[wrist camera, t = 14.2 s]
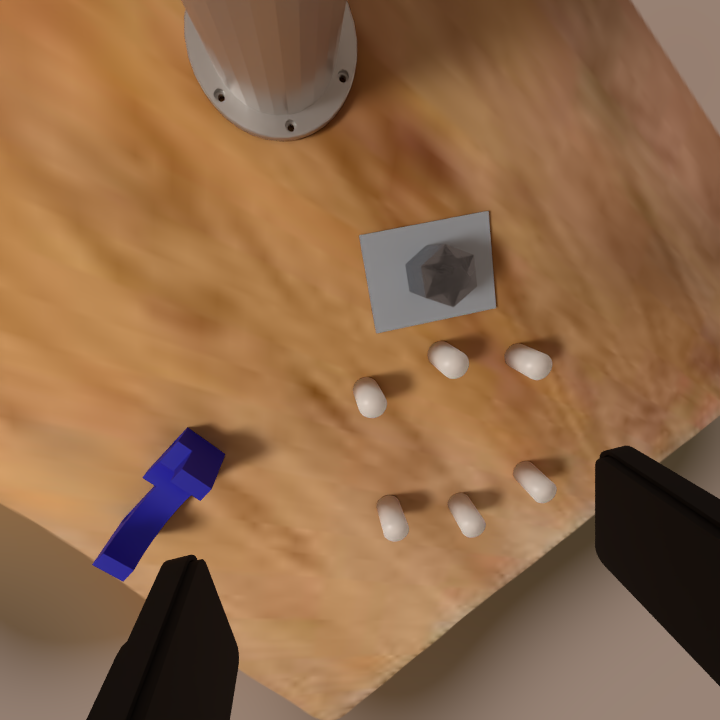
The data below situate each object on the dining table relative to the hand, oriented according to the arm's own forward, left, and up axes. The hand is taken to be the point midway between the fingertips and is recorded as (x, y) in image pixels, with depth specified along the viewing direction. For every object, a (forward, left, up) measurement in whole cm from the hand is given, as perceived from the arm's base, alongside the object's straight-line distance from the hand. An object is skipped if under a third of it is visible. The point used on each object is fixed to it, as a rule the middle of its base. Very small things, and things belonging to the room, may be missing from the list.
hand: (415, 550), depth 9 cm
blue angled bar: (+12, -19, -29) cm, 37 cm away
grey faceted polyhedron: (-3, +10, -28) cm, 30 cm away
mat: (-3, +10, -28) cm, 30 cm away
